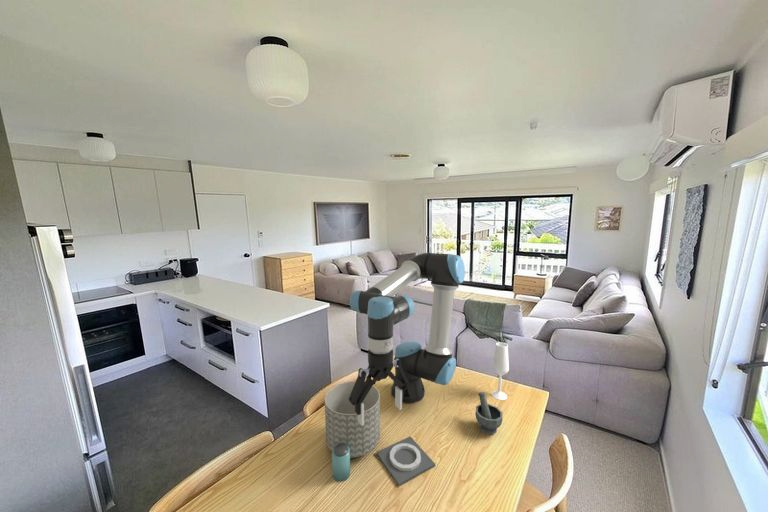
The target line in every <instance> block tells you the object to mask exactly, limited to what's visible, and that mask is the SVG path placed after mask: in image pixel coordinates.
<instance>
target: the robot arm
mask: <svg viewBox="0 0 768 512" xmlns="http://www.w3.org/2000/svg"><path fill="white" fill-rule="evenodd" d="M465 267H466V266H465V263H464V260H463V259H462V257H461V256H460V255H457V254H451V253H440V252H439V253H436V252H423V253H419V254H417V255H415V256H411V257H410V258H408V259H406V260H405V261H403V262H402V263H401V266H400V267H399V268H397V269H396V270H394V271H393V272H391V273H390V274H388V275H387V276H386V277H384V278H383V279H381V280H380V281H378V282H376V283H375V284H374V285H372V286H370V287H369V288H368V289H367V290H355V291H353V292H352V294H351V295H350V298H349V306H350V307H349V308H350V309H351V310H352V311H353V312H357V313H360V314H364V315H367V362H368V365H367V368H362V367H360V368H359V369H358V370H357V371H358V372H357V373H358V374H357V375H358V376H357V378H356V380H355V381H356V382H355V385H354V387H353V390H352V392H351V395H350V397H349V401H350V403H351V404H352V405H355V412H356V414H357V415H358V422H359V423H360V424H361V425H362V426H363V425H364V404H363V403H362V402H363V400H364V399H365V397H366V395H367V394H368V392H369V391H370V389H371V387H372V386H374V385H375V384H376V383H377V382H379V381H381V380H385V379H387V378H388V377H389V378H390V379H391V380H392V381H393V382H392V385H391V388H390V390H391V392H390V393H391V396H392V398H393V399H394V401H395V403H394V406H395V407H396V408H397V409H399V411H401V410H403V403H404V404H415V403H418V402H420V401H422V400H423V399H424V397H425V395H426V394H425V386H424V383H423V381H422V379H423V380H426V381H428V382H431V383H435V384H436V385H437V384H438V385H442V386H447V385H448V384H450V383H451V381H452V378H453V377H454V374H455V372H456V368H457V367H456V366H457V359H456V357H453V351H452V350H451V348H450V341H451V330H452V329H451V328H452V320H453V309H454V298H455V291H456V290H457V289H458V288H459V286H460V284H462V283H463V282H464V280H465V276H466V275H465V274H466V268H465ZM419 279H421V280H422V279H425V280H426V279H427V280H430V285H431V286H432V287H433V294H432V295H433V296H432V306H431V316H430V326H429V327H430V328H429V334H428V335H429V336H428V344H427V345H426V346H424V349H422V345H421V343H419V342H417V341H406V342H405V341H404V342H402V343H399V344H397V346H396V347H395V350H393V348H394V326H395V325H396V324H399V323H401V322H403V321H405V320H407V319H408V318H409V317H410V316H412V315H413V314H414V312H415V307H416V306H415V302H414V299H412V298H411V297H410V296H409V295H406V294H402V295H398V296H395V295H397V293H399V292H400V291H402V290H403V289H404V288H405V287H406V286H408V285H410V283H412V282H416V281H418V280H419ZM393 367H394V373H393V372H392V370H393Z"/></svg>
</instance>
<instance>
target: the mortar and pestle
mask: <svg viewBox="0 0 768 512" xmlns="http://www.w3.org/2000/svg"><path fill="white" fill-rule="evenodd" d="M486 395H487V394H486V392H485V391H481V392H480V391H479V392H478V397H479V402H480V403H479V405H477V406H476V407H475V419H476V421H477V423H478V424H479V429H480V430H481V432H483V433H485V434H487V435H495V434H496V433H497V430H498V428H500V427H501V425H502V424H503V423H502V422H503V411H501V410H500V408H499V407H498V406H496V405H495V406H494V405H492V404H489V403H488V401H487V397H486Z"/></svg>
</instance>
